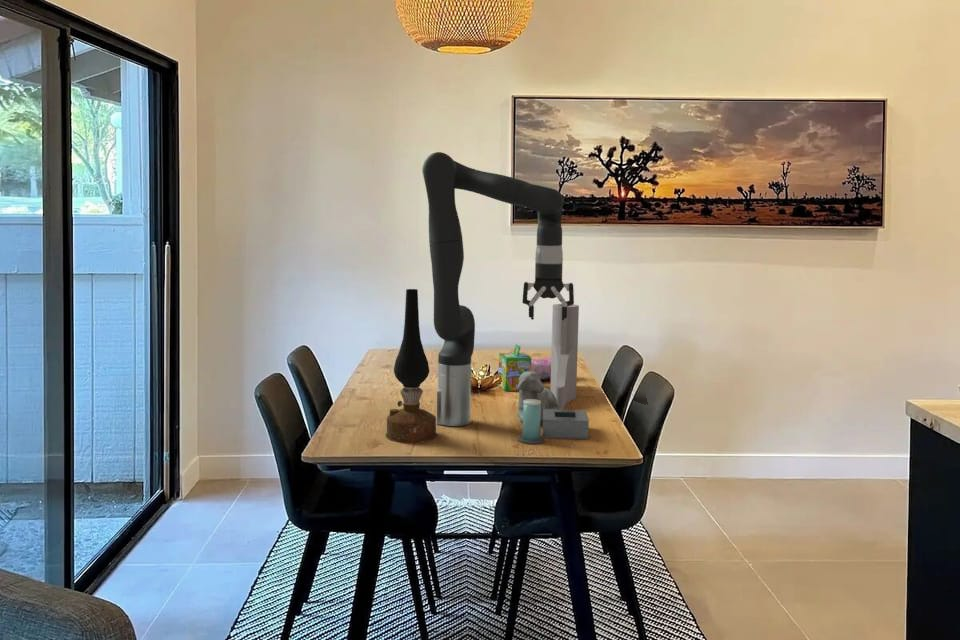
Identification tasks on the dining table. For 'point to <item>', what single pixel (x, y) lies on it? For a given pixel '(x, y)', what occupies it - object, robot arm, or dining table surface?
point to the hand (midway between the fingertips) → (547, 319)
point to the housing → (565, 424)
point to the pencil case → (542, 367)
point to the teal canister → (531, 419)
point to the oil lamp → (411, 383)
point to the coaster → (531, 441)
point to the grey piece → (564, 354)
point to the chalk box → (512, 368)
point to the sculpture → (534, 393)
